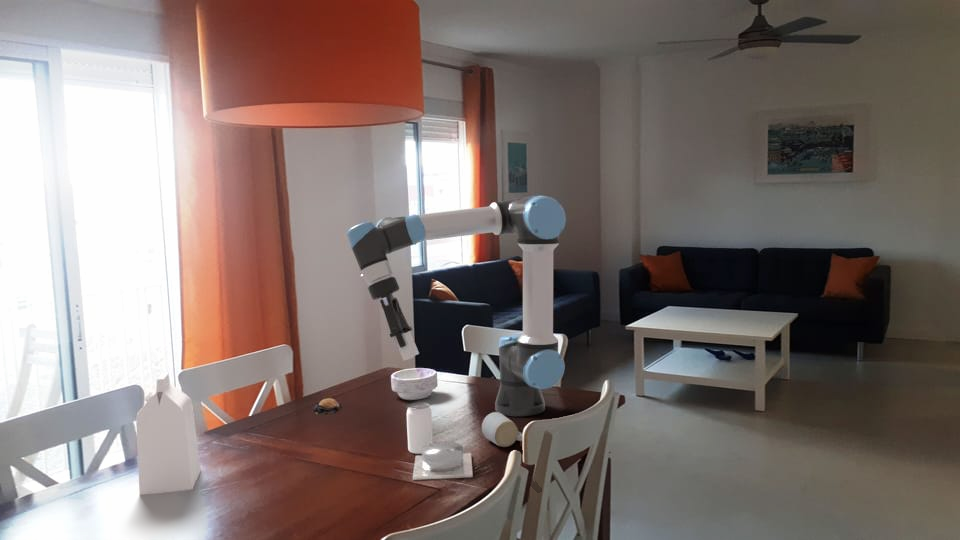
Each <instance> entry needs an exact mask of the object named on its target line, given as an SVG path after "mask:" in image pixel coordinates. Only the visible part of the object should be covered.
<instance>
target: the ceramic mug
mask: <svg viewBox="0 0 960 540" xmlns="http://www.w3.org/2000/svg"><path fill="white" fill-rule="evenodd" d="M481 433H482V435H483V436H484V438H486V439H487V440H488V441H490V442H492V443H493V444H495V445H497V446H498V447H502V448H508V447H511V446H512V445H513V444H515V442H516V441H519V442H523V441H522V434H523V433H522V432H520V431H519V429H518V427H517V425H516V423H515V422H514V421H512V420H511V419H509V418H508V417H507V416H506V415H503V414H501V413H499V412H496V411H493V412H490V413H489V414H487V415H486V416H485V417H484V418H483V421H482V423H481Z"/></svg>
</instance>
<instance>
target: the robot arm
mask: <svg viewBox="0 0 960 540" xmlns="http://www.w3.org/2000/svg"><path fill="white" fill-rule="evenodd" d="M566 220H567V218H566V213H565V210H564V207H563V206H562V204H561V203H560V202H559V201H557V200H556V199H555V198H553V197H551V196H546V195H541V194H540V195H529V196H528V195H524V196H518V197H515V198H511V199H507V200H501V201H494V202H491V203H490V204H489V206H483V207H475V208H473V207H471V208H467V209H466V208H465V209H464V208H463V209H457V210H456V209H455V210H447V211H440V212H431V213H423V214H415V213H414V214H411V215H406V216H398V217H390V216H389V217H384V218H382V219H380V220H379V221H378V222H377V223H376V225H375V224H374V222H372V221H365V222H362V223H359V224H357V225H354V226H352V227H351V228H349V229H348V231H347V237H348V238H347V239H348V241H349V244H350V246H351V247H350V248H351V250H352V252H353V254H354V255H353V256H354V257H355V259H356V262H357V264H358V266H359V270H360V271H361V273H362V274H361V275H360V278H361V279H364V281H365V283H366V285H368V288H367V289H368V291H369V294H370V297H371V299H372V300H374V301H375V300H376V301H377V300H379V302H380V304H381V308H382V310H383V313H384V315H385V319H386V321H387V325H388V328H389V330H390V331H389V336H390V339H391V338H393V339H394V341H395V343H396V345H397V348H398V352H399V353H400V357H401V358H402V361H403V362H406V361H407V360H410V359H412V358H414V357H416V356H417V355H419V354H420V352H419V349H418V347H417V345H416V342H415V339H414V338H413V335H412V332H411V331H413V328H412V326H410V325H409V324H408V322H407V319H406V317H405V315H404V313H403V311H402V308H401V306H400V302H399V300H398V298H397V297H396V296H394V295H393V294H394V293H396V292H398V291H400V285H399V283H398V281H397V278H396V277H395V276H394V270H393V268H392V266H391V262H390V261H389V259H388V256H387V255H388V254H391V253H393V252H397V251H399V250H402V249H405V248H409V247H410V246H414V245H417V244H418V243H421V242H425V241H433V240H434V241H435V240H441V239H449V238H457V237H464V236H473V235H474V236H475V235H481V234H482V235H483V234H488V233H490V234H491V233H493V235H496V236H498V235H500V236H501V235H515V236H517V238H516V239H517V245H518V247H519V248H521V250H522V334H521V333H520V334H519V333H518V334H510V335H504V336H501V337H500V338H499V342H498V358H499V381H500V384H499V388H498V392H497V395H496V400H495V402H494V404H495V406H494V409H495V412H499V413H501V414H503V415H504V416H506V417H507V416H509V417H529V416H530V417H531V416H535V415H539V414H541V413H543V412H545V410H546V402H545V401H546V400H545V399H544V396H543V393H542V390H547V389H551V388H553V387H555V386H556V385H557V384H558V383H559V382H560V381H561V379H562V378H563V376H564V373H565V369H566V368H565V367H566V365H565V361H564V358H563V356H562V355H561V354H560V353H559V339H558V338H557V337H556V336H555V335H554V250H555V249H556V248H557V247H558V246H559V245H560V235H561V233H562V232H563V231H564V228H565V226H566Z"/></svg>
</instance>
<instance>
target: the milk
mask: <svg viewBox="0 0 960 540" xmlns="http://www.w3.org/2000/svg"><path fill="white" fill-rule="evenodd" d="M143 400H144V401H145V404H144V405H142V407H141V408H140V409H139V411H137V414H136V418H135V421H136V425H135V426H136V444H137V446H136V447H137V465H138V486H139V489H138V490H139V496H143V495H151V494H152V495H153V494H161V493H162V494H163V493H170V492H171V493H173V492H179V491H180V492H181V491H190V490H194V489H193V488H194V487H195V485H196V482H197V480H198V479H199V475H200V473H201V470H202V468H201V462H200V461H201V460H200V453H199V447H198V437H197V430H196V423H195V422H196V421H195V415H194V409H193V408H194V407H193V402H192V399H191V398H190V397H189V396H188V394H186V393H185V392H183V391H182V390H180V389H179V388H177V387H176V386H175V385H173V384H172V383H170V376H169V373H168V372H165V373H161V374H160V375H159V376H158V378H157V379H156V390H155V391H154V389H152V390H150V391H149V393H148V394H147V395H146V396H145V398H144V399H143Z"/></svg>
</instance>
